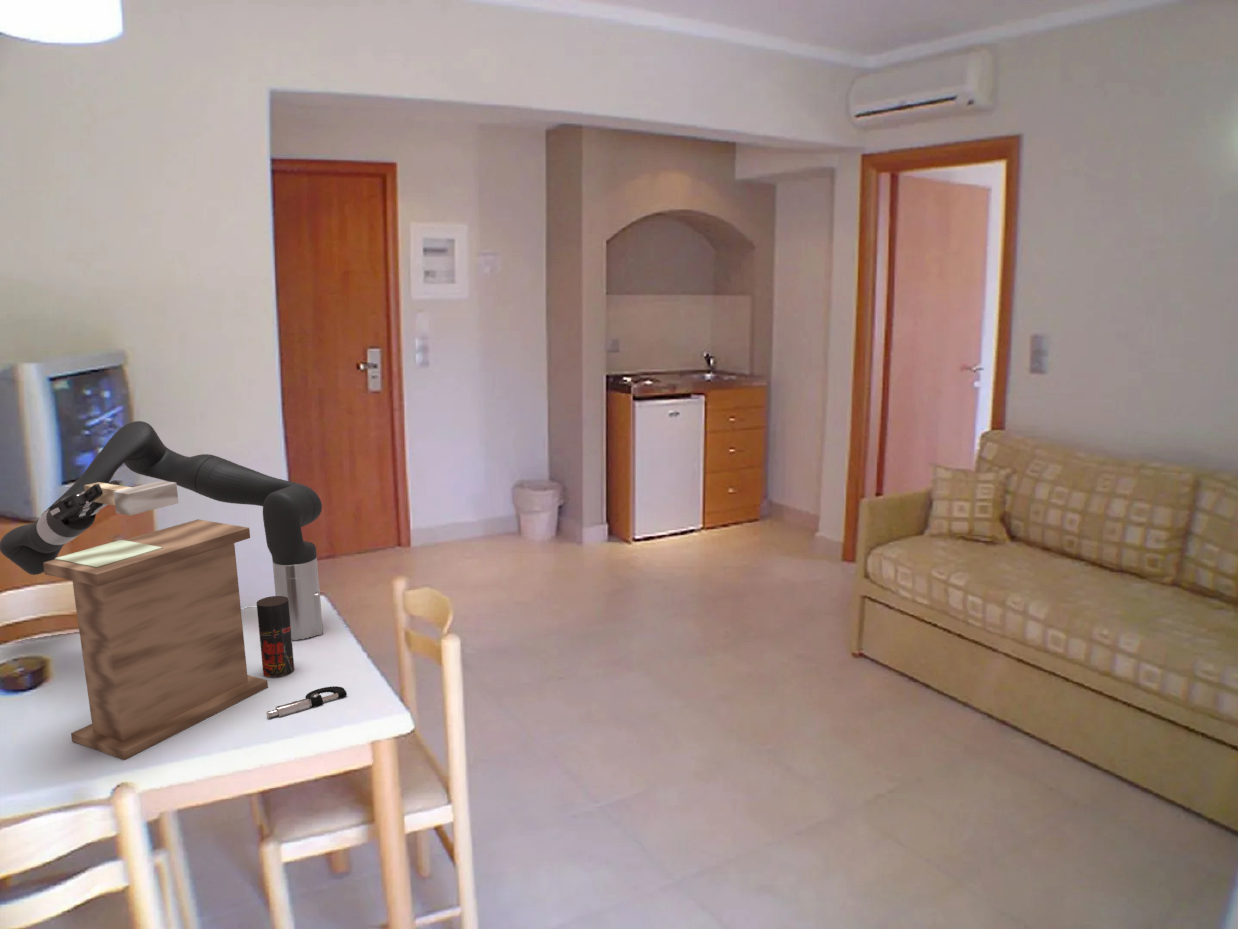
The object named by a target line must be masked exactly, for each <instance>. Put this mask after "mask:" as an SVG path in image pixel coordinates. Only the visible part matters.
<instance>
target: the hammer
mask: <svg viewBox="0 0 1238 929" xmlns="http://www.w3.org/2000/svg"><path fill="white" fill-rule="evenodd" d="M95 484H99V485H100V487H101V490H102V492H103V494H102V495H101V496H99V497H98V498H97V499H96V500H94V501H92V502H98V503H104V504H107V505H110V506H114V507H115V513H116V514H118V515H119V514H120V515H124V516H125V515H126V516H134V515H137V514H142V513H145V512H146V513H147V512H149V511H154V510H158V509H160V508H161V509H162V508H165V507H169V506H173V505H176V504H177V505H178V504H179V496H178V487H177V486H178V485H177V484H176V483H175V482H168V481H165V480H160V481H155V482H151V483H145V484H142V485H137V486H133V487H132V486H127V485H126V486H125V485H120V484H119V485H113V484H107V483H101V482H97V483H93V484H88V485H84V488H85V491H87V490H88V489H89V488H91V487H92V486H93V485H95Z"/></svg>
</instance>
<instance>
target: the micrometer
mask: <svg viewBox="0 0 1238 929" xmlns="http://www.w3.org/2000/svg"><path fill="white" fill-rule="evenodd" d="M320 693H321V694H324V693H332V694H330V695H325V696H322V695H321V694H320ZM347 695H348V694H347V691H346V690H345V688H344V687H342V686H336V685H335V686H324V687H321V688H317V689H315V690H311V691H310V692H308V693H307V694H306V695H305V698H303V699H300V700H299V699H298V700H294V701H291V702H290V703H285V704H282V705H277V706H275V708H274V709H273V710H268V711H266V718H267V719H271V718H274V717H278V718H282V717H285V716H288V715H291V714H296V713H300V712H302V711H305V710H309V709H312V708H313V709H314V708H316V707H319V706H323V704H324V702H328V701H331V700H333V699H339V698H340V699H341V698H343V697H347Z"/></svg>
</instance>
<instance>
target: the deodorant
mask: <svg viewBox="0 0 1238 929" xmlns="http://www.w3.org/2000/svg"><path fill="white" fill-rule="evenodd" d="M256 611H257V612H256V613H257V623H258V633H259V634H258V635H259V642H260V644H259V645H260V653H261V654H260V655H261V664H262V665H261V666H262V675H263V676H264V677H266V678H268V679H275V678H276V679H278V678H283V677H286V676H290V675H291V674H292V673H293V672H294V671H295V663H294V662H295V660H294V651H293V649H294V648H293V640H292V636H291V625H290V613H289V601H288V598H287V597H284V596H276V595H272V596H267V597H263V598H261V599H259V600H257V602H256Z"/></svg>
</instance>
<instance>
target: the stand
mask: <svg viewBox="0 0 1238 929" xmlns="http://www.w3.org/2000/svg"><path fill="white" fill-rule="evenodd" d="M248 539H251V531H250V527H247V526H240V525H234V524H228V523H222V522H218V521H217V522H215V521H210V520H203V519H194V520H191V521H190V520H189V521H187V522H183V523H181V524H176V525H173V526H170V527H166V528H162V529H159V530H156V531H151V532H149V533H145V534H141V535H136V536H134V537H131V538H126V539H119V540H114V541H111V542H108V543H105V544H101V545H97V546H92V547H90V548H87V549H83V550H80V551H76V552H72V553H69V554H64V555H62V556H61V555H60V556H57V557H56V558H55V559H54V560H51V561H47V562H44V563H43V566H44V572H43V573H44V575H47V576H50V577H55V578H60V579H64V580H68V581H69V580H70V581H72V587H73V596H74V601H75V602H74V603H75V610H76V615H77V617H76V618H77V624H78V632H79V639H80V645H81V653H82V660H83V661H82V662H83V667H84V674H85V675H84V676H85V682H86V683H85V684H86V689H87V696H88V704H89V712H90V717H91V723H90V724H88V725H86V726H83V727H82V728H79V729H77V730H75V731H72V732H71V733H70V736H71V742H73V743H77V744H79V745H82V746H84V747H87V748H90V749H93V750H96V751H99V752H101V753H104V754H108V755H111V756H113V757H116V758H118V759H122V760H123V761H126V760H128V759H129V758H132V757H133V756H136V755H138V754H139V753H141V752H144V751H145V750H147V749H149V748H151V747H153V746H156V745H157V744H160V743H161V742H163V741H166V740H168V739H169V738H171V737H173V736H175V735H177V734H178V733H181V732H183V731H185V730H187V729H189V728H191V727H192V726H194V725H197V724H198V723H200V722H202V721H205V720H207V719H208V718H211V717H212V716H214V715H217V714H218V713H220V712H222V711H224V710H227V709H228V708H230V707H232V706H234V705H236V704H239V703H240V702H242V701H244V700H246V699H248V698H250V697H252V696H254V695H256V694H257V693H261V692H262V691H263V690H265V689H267V688H269V684H268V680H267V679H264V678H261V677H257V676H252V675H249V674H248V668H247V659H246V657H247V656H246V649H245V648H246V647H245V639H244V637H245V636H244V628H243V618H242V608H241V597H240V596H241V595H240V586H239V578H238V565H237V557H236V548H235V547H236V546H235V544H236V543H239V542H242V541H245V540H248Z"/></svg>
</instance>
